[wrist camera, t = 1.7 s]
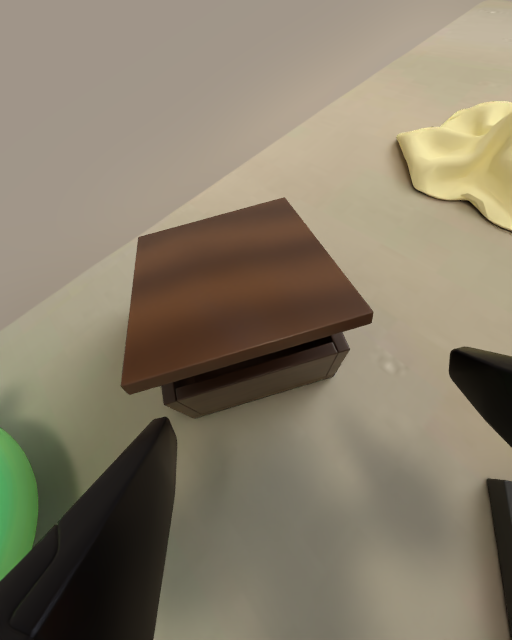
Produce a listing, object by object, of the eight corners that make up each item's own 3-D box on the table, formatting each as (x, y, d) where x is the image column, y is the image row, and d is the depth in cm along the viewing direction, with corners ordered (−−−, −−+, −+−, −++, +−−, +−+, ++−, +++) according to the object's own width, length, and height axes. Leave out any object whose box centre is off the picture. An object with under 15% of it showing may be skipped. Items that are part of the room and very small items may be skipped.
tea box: (333, 376, 23) (350, 349, 17) (194, 418, 22) (163, 405, 17) (284, 257, 28) (285, 206, 23) (171, 288, 28) (143, 245, 22)
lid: (372, 323, 13) (374, 311, 13) (128, 395, 13) (119, 386, 12) (285, 206, 23) (284, 196, 22) (142, 246, 22) (138, 236, 22)
